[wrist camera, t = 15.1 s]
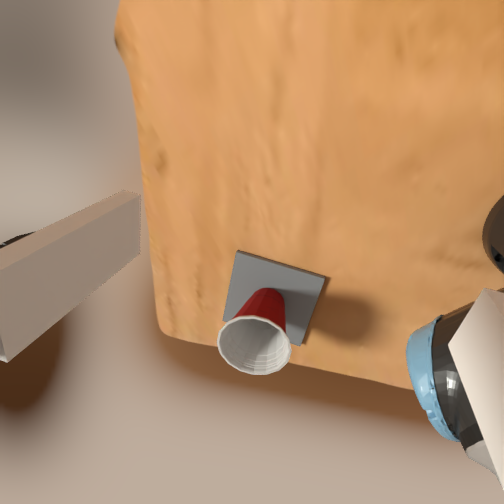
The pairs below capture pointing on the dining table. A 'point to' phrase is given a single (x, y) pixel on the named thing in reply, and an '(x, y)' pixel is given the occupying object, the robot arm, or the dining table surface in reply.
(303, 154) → the dining table surface
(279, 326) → the plastic cup
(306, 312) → the rest mat
